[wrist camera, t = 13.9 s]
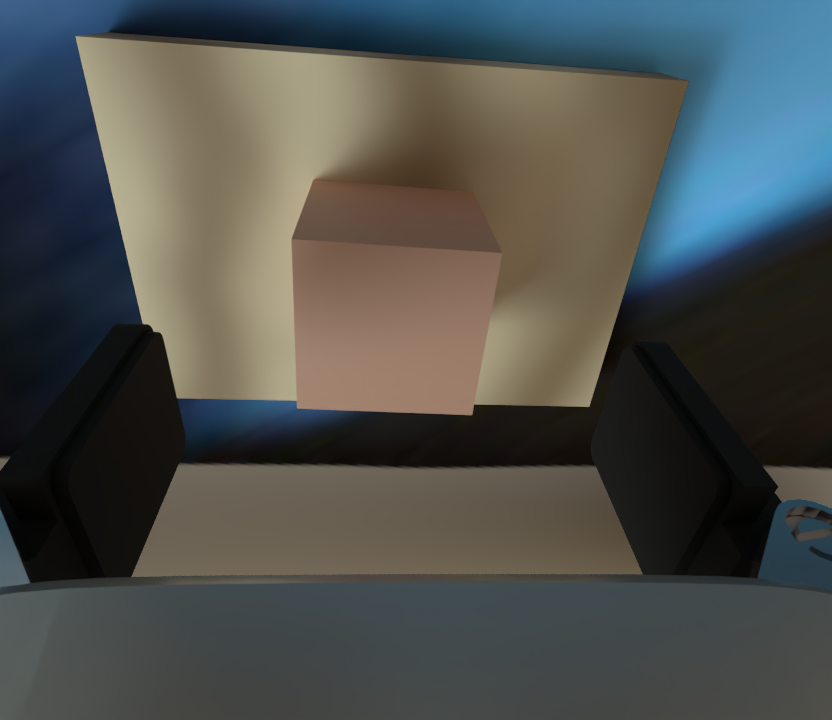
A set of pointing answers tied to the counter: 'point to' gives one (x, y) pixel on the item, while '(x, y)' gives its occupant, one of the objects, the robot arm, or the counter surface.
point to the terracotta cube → (391, 298)
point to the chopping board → (372, 164)
